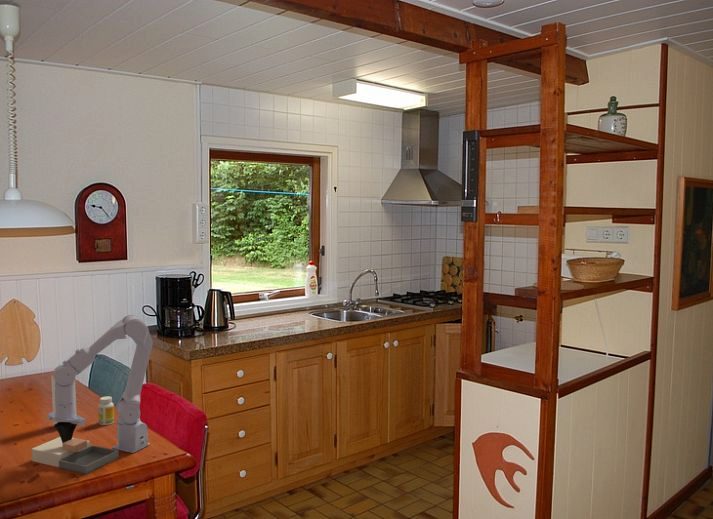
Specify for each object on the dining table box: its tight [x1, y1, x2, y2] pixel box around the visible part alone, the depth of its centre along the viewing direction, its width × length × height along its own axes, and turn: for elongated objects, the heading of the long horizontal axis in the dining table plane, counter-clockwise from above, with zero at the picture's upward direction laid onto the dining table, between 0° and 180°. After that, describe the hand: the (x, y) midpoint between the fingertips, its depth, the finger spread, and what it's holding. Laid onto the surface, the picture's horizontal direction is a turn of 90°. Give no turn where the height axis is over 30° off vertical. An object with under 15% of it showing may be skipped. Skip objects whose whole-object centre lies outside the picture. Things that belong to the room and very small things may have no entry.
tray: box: [58, 444, 120, 475], centre depth 191 cm, size 11×13×2 cm
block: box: [62, 437, 88, 452], centre depth 193 cm, size 5×5×2 cm
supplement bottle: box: [97, 395, 115, 426], centre depth 225 cm, size 5×5×10 cm
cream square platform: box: [30, 436, 91, 468], centre depth 195 cm, size 12×12×4 cm
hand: (67, 444), depth 194 cm, fingers closed
